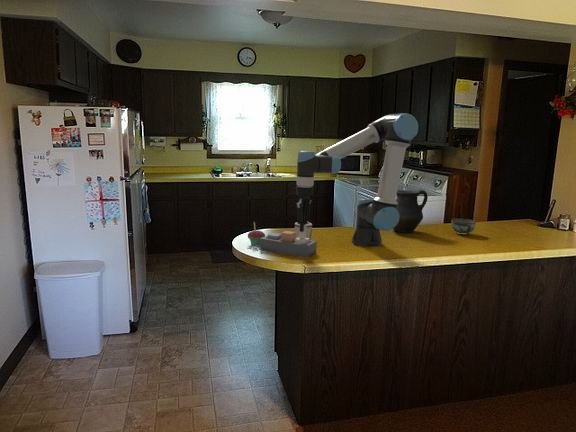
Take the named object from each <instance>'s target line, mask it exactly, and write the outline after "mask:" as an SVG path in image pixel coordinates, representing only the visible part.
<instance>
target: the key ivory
mask: <svg viewBox="0 0 576 432" xmlns="http://www.w3.org/2000/svg"><path fill="white" fill-rule="evenodd" d="M295 243H299V244H305V245H307V244H309V243H310V238H305V239H301V238H299V237H298V238H296V239H295Z"/></svg>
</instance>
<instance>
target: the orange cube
mask: <svg viewBox="0 0 576 432" xmlns="http://www.w3.org/2000/svg"><path fill="white" fill-rule="evenodd" d="M280 234H281V241H286V242H293V241H295V239H296V232H295V231H290V230H284V231H282V232H281V233H280Z"/></svg>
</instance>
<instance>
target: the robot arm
mask: <svg viewBox="0 0 576 432" xmlns="http://www.w3.org/2000/svg"><path fill="white" fill-rule="evenodd" d="M418 132H419V122H418V121H417V119H416V117H415V116H413V115H412V114H410V113H405V112H404V113H403V112H400V113H390V114H386V115H384V116H381V117H380V118H378V119H376V120H375V121H373V122H371V123H369V124H368V125H367V127H366V128H364V129H362V130H360V131H358V132H357V133H355V134H353V135H351V136H349V137H347V138H345V139H343V140H341V141H338V142H337V143H336V144H333V145H332V146H329V147H327V148H326V149H323V150H321V151H320V152H318V153H316V152H315V151H312V150H299V152H298V153H297V160H296V161H297V162H296V164H297V165H296V167H297V168H296V178H295V180H296V187H295V190H296V191H295V193H296V196H298V202H296V203H295V208H296V221H297V224H300V226H299V238H301V239H305V238H306V224H309V223H310V222H309V221H310V214H311V206H312V204H313V200H311V197H310V196H312V197H313V194H314V183H315V181H314V180H315V174H338V173H340V171H341V168H342V161H341V160H342V159H344V158H346V157H347V156H350V155H351V154H354V153H355V152H357V151H359V150H361V149H363V148H365V147H367V146H369V145H370V144H373V143H377V144H378V143H379V142H381V141H384V142H385V144H386V150H385V155H384V158H383V165H382V170H381V176H380V179H379V185H378V189H377V194H376V196H375V197H373V198H359V199H358V201H357V204H356V208H357V209H356V221H355V222H356V225H355V230H354V232H353V233H352V237H351V244H352V245H355V246H359V247H363V248H364V247H366V248H376V247H377V248H378V247H380V246H383V245H382V244H383V243H382V242H383V240H382V235H381V231H382V232H383V231H385V232H389V231H391V230H393V228H394V227H395V226H396V225H397V224H398V222H399V213H398V211H397V205H398V203H397V202H396V198H397V191H398V188H399V183H400V178H401V174H402V169H403V164H404V160H405V155H406V149H407V148H408V147H410V146H411V142H412V140H413V139H414V137H416V136H417V134H418Z"/></svg>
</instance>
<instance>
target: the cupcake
mask: <svg viewBox="0 0 576 432" xmlns="http://www.w3.org/2000/svg"><path fill="white" fill-rule="evenodd" d="M253 229H254V230H251V231H249V233H248V234H247V238H248V239H249V242H250V244H251V246H252V247H260V238H263V237H265V236H266V233H264V232H263V231H262V230H258V229H257V228H256V222H255V221H253Z"/></svg>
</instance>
